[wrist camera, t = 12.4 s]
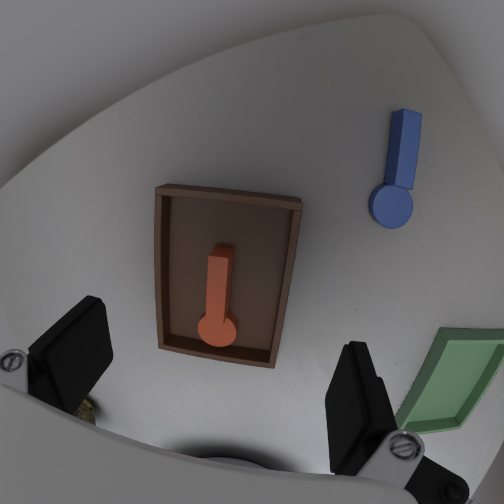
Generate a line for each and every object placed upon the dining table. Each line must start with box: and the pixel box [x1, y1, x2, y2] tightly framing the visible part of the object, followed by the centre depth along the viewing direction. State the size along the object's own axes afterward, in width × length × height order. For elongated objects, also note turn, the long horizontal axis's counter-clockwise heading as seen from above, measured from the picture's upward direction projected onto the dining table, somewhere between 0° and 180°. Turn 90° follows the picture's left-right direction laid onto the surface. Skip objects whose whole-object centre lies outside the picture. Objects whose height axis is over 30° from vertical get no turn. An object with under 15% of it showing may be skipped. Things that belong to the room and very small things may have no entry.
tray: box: [154, 184, 303, 369], centre depth 25 cm, size 15×11×2 cm
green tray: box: [395, 328, 504, 435], centre depth 27 cm, size 15×11×2 cm
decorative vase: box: [72, 397, 95, 425], centre depth 32 cm, size 8×7×8 cm
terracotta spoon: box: [198, 246, 238, 347], centre depth 25 cm, size 10×4×3 cm, turn 174°
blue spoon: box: [369, 109, 422, 229], centre depth 21 cm, size 10×4×3 cm, turn 174°
